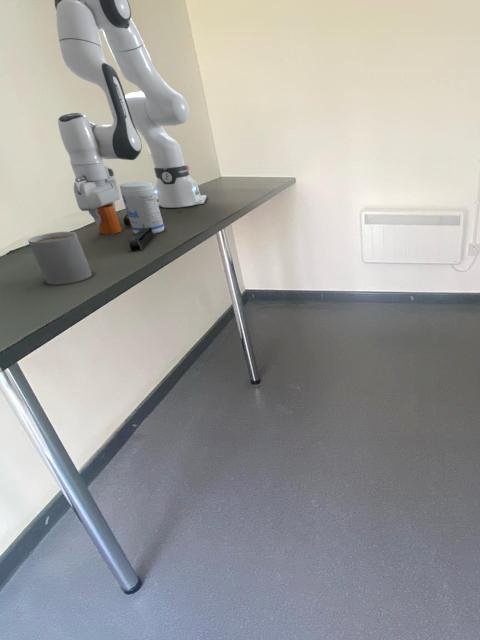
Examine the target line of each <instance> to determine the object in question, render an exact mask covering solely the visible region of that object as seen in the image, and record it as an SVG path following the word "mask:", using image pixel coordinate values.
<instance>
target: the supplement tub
mask: <svg viewBox="0 0 480 640" xmlns="http://www.w3.org/2000/svg"><path fill="white" fill-rule="evenodd" d="M119 189H120V190H119V192H120V195H121V198H122V201H123V204H124V207H125V210H126V215H127V214H128V217H129V220H130V223H131V227H130V228H131V230H132V232H133V233H134V235H135V234H136V233H138V232H139V231H140V230H141V229H142V228H148V227H151V228H152V231H153V235H155V234H159V233H162V232H164V230H165V225H164V221H163V217H162V214H161V210H160V206H158V202H159V201H158V198H157V195H156V193H155V191H156V190H155V189H154V186H153V183H152V182H151V181H131V182H130V181H129V182H124V183H121V184H119Z"/></svg>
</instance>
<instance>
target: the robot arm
mask: <svg viewBox="0 0 480 640" xmlns="http://www.w3.org/2000/svg"><path fill="white" fill-rule="evenodd" d="M54 8H55V10H56V14H55V15H56V28H57V36H58V41H59V47H60V48H59V49H60V54H61V56H62V59H63V62H64V64H65V66H66V67H67V68H68V69H69V70H70V71H71V73H73V74H74V75H75V76H77V77H78V78H80V79H82V80H85V81H87V82H90V83H92V84H94V85H97V86H98V87H100V89H101V90H102V91H103V93H104V95H105V97H106V100H107V103H108V107H109V110H110V113H111V116H112V120H113V123H112V124H96V123H94V122H92V121H90V120H88V118H87V116H86V115H85V114H84V113H80V112H73V113H66V114H63V115H60V117H59V118H57V125H58V130H59V134H60V137H61V141H62V144H63V146H64V149H65V151H66V152H67V154H68V156H69V160H70V161H69V162H70V167H71V168H72V172H73V175H74V177H75V178H74V182H73V193H74V196H75V200H76V203H77V206H78V208H79V210H80V211H82V212H88V213H89V215H90V216H91V217H92V218H93V220H94V223H95V224H100V223H102V222H103V220H102V217H100V216H99V214H98V213H97V212H98V210H97V208H99V207H101V206H104V205H106V204H112V205H114V208H115V209H116V201H119V200H120V199H121V198H120V197H121V193H120V190H119V186H118V184H117V183H118V182H117V181H116V180H117V179H116V178H115V171H114V169H113V168H111V167H108V166H107V165H105V163H104V161H103V160H127V161H135V160H136V159H137V158H138V157H139V156H140V154H141V152H142V148H143V145H142V139H141V137H140V135H141V136H142V137H143V139H144V141H145V143H146V144H147V147H148V149H149V153H150V155H151V159H152V162H153V166H154V168H153V170H154V174H155V177H156V179H157V181H156V182H155V183H154V185H155V190H154V191H155V194H157V195H156V196H157V202H158V206H159V207H162V208H167V209H168V208H169V209H171V208H172V209H173V208H174V209H175V208H185V207H191V206H196V205H202V204H204V203H205V202H206V201H207V198H208V197H207V195H206V194H201V192H200V189H199V185H198V183H197V182H196V181H195V180H194V179H193V178H192V177H191V175H190V172H189V171H190V166H189V165H188V164H185V160H184V156H183V151H182V147H181V145H180V143H179V142H178V141H177V140H176V139H175V138H173V137H171V136H170V135H169V134H168V133H167V131H166V130H165V129H164V127H170V126H171V127H172V126H174V127H175V126H178V125H179V126H180V125H183V124H184V123H186V122H187V121H188V120H189V118H190V107H189V104H188V102H187V100H186V98H185V97H184V96H183V95H182V94H180V93H179V92H178V91H176V90H175V89H173V88H172V87H171V86H170V85H169V84H168V83H167V82H166V81H165V80H164V79H163V77H162V76H161V75H160V73H159V72H158V70H157V69H156V67H155V65H154V63H153V61H152V59H151V57H150V54H149V53H148V50H147V48H146V46H145V43H144V41H143V38H142V36H141V34H140V32H139V30H138V28H137V26H136V24H135V23H134V20H133V19H132V10H131V5H130V3H129V0H54ZM99 31H100V32H101V31H102V32H103V36H104V38H105V40H106V43H107V45H108V48H109V50H110V52H111V54H112V57H113V59H114V61H115V64H116V65H117V67H118V69H119V71H120V74H121V75H122V77H123V78H124V79H125V80H126V81H128V82H129V83H132V84H133V85H135V86H136V87H137V88H138V89H139V90H140V91H135V92H130V93H127V94H125V92H124V89H123V86H122V83H121V80H120V77H119V75H118V73H117V72H116V70H115V68H114V67H113V66H112V65H110V64H109V63H108V61H107V59H106V57H105V53H104V50H103V45H102V40H101V36H100V32H99ZM139 134H140V135H139Z"/></svg>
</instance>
